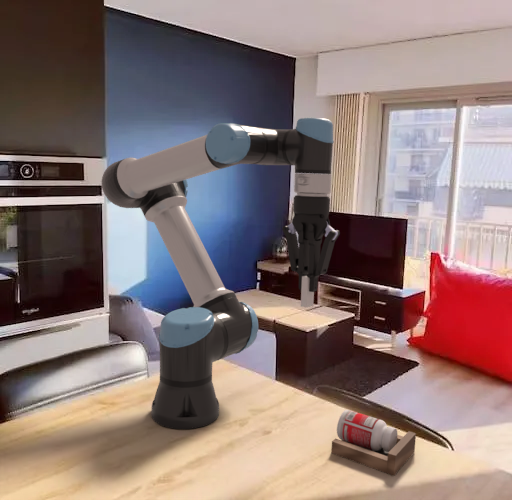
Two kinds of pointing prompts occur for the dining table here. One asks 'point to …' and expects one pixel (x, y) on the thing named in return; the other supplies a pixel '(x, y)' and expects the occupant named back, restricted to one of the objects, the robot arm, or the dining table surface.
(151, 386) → the dining table surface
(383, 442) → the pill bottle
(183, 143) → the robot arm
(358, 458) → the tray
